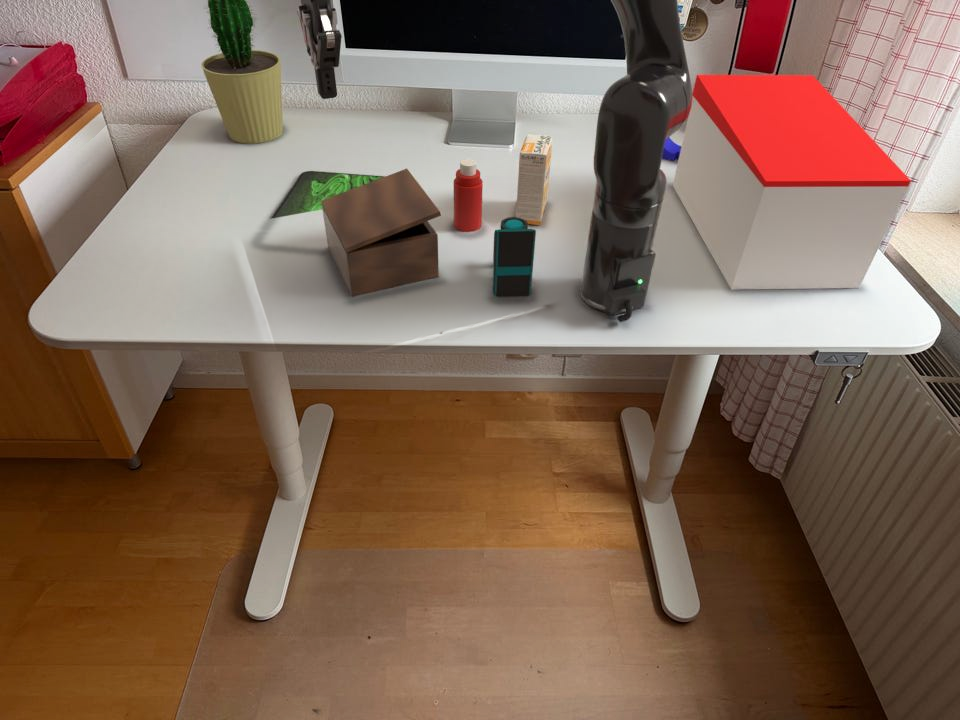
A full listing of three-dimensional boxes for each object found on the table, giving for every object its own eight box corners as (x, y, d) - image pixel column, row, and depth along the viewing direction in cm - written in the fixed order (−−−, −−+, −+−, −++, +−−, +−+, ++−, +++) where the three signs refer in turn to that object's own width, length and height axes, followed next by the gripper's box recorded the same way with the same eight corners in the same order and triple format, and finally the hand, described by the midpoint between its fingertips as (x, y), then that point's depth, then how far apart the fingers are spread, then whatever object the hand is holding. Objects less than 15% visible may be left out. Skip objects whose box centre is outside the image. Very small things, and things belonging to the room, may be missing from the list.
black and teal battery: (527, 196, 101) (536, 231, 93) (522, 263, 109) (530, 300, 101) (490, 196, 100) (496, 231, 93) (488, 264, 108) (493, 301, 101)
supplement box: (541, 226, 118) (548, 155, 109) (514, 223, 118) (518, 152, 110) (547, 204, 124) (554, 135, 115) (521, 201, 124) (526, 132, 116)
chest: (408, 235, 114) (405, 190, 109) (439, 281, 104) (437, 234, 99) (328, 251, 110) (321, 205, 105) (352, 301, 100) (346, 253, 95)
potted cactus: (293, 145, 141) (265, -15, 121) (216, 150, 138) (175, -13, 118) (292, 116, 152) (267, -34, 132) (221, 121, 149) (184, -32, 129)
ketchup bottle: (485, 233, 116) (487, 166, 107) (460, 238, 114) (460, 171, 106) (475, 220, 119) (476, 154, 111) (449, 225, 117) (449, 158, 109)
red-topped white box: (775, 184, 131) (812, 74, 118) (859, 288, 105) (919, 163, 92) (671, 184, 130) (696, 74, 117) (730, 289, 104) (771, 163, 90)
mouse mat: (382, 258, 109) (381, 253, 109) (251, 248, 111) (250, 242, 110) (413, 181, 130) (413, 176, 129) (303, 173, 131) (302, 169, 130)
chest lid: (408, 172, 107) (407, 168, 107) (441, 215, 97) (440, 211, 96) (322, 205, 105) (320, 200, 104) (346, 253, 95) (345, 248, 94)
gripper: (263, -66, 79) (288, 83, 91) (286, -44, 70) (310, 119, 82) (326, -70, 82) (343, 76, 93) (355, -49, 73) (370, 110, 84)
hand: (328, 96), depth 87 cm, fingers closed
